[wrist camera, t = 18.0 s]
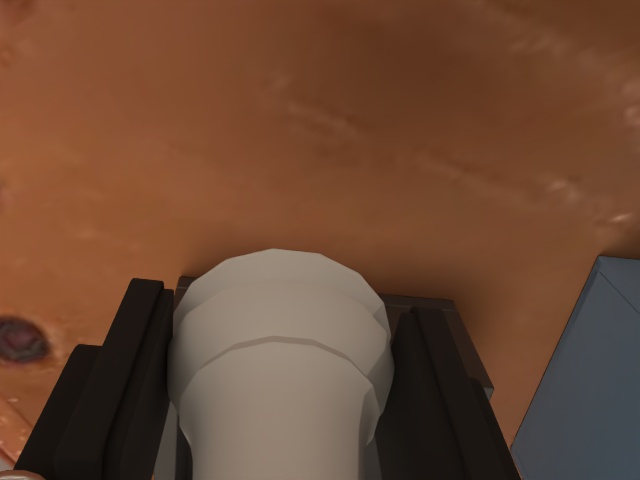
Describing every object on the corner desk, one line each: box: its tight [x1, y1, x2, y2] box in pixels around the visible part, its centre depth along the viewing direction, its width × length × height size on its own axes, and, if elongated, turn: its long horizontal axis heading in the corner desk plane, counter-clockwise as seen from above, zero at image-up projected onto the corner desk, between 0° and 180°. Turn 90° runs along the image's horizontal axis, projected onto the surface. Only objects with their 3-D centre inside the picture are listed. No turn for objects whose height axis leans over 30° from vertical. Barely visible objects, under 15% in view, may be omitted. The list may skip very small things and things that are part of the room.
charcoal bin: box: [154, 277, 494, 480], centre depth 25 cm, size 16×12×5 cm
